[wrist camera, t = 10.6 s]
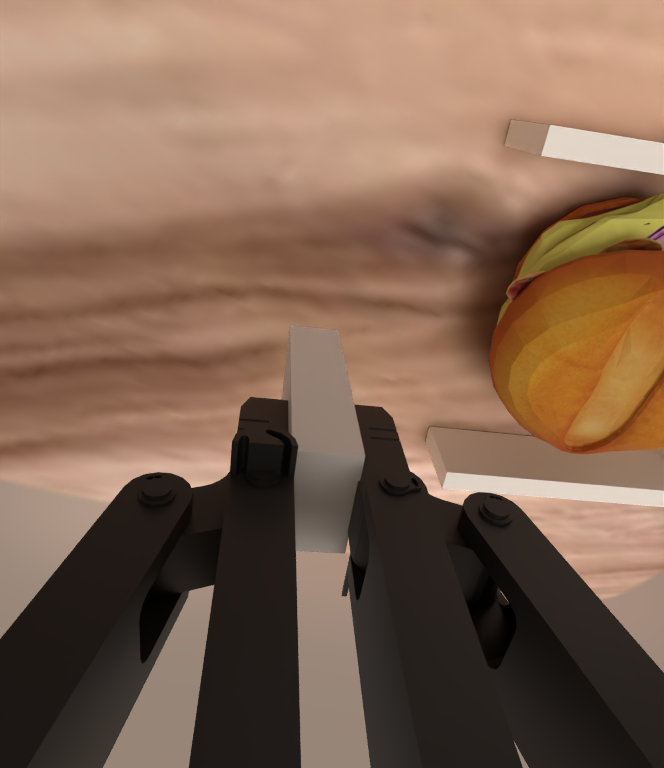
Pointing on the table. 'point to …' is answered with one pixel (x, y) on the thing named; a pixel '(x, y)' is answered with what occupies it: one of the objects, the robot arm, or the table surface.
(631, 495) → the box
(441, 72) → the table surface
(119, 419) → the table surface
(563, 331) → the cheeseburger
